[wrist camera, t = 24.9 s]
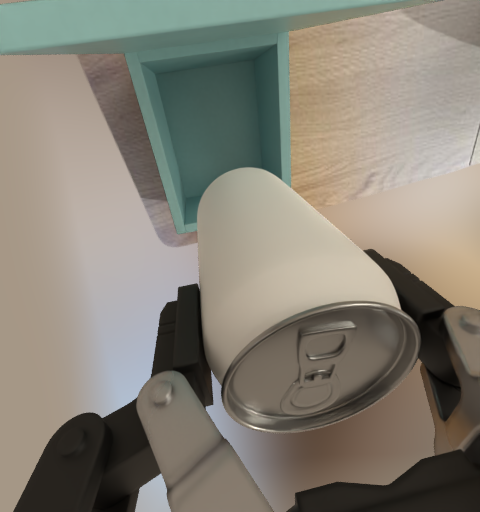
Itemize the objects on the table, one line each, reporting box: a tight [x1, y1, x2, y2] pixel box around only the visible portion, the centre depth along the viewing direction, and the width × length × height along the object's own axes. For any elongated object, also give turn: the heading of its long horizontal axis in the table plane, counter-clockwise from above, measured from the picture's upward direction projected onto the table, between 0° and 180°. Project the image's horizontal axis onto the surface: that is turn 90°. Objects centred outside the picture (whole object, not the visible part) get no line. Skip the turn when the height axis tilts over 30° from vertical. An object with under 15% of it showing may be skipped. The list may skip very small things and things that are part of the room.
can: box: [197, 167, 421, 433], centre depth 12 cm, size 6×6×12 cm
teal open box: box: [124, 31, 291, 234], centre depth 28 cm, size 16×13×10 cm
